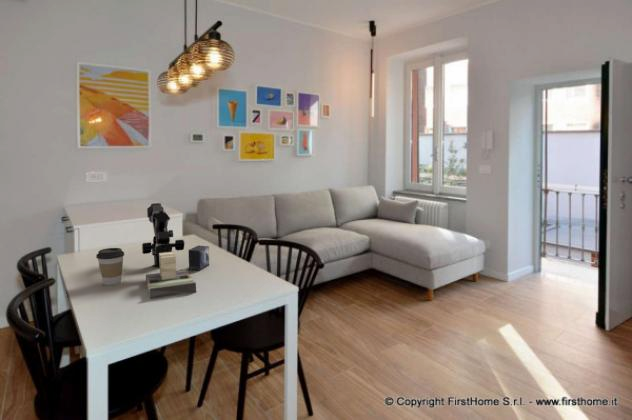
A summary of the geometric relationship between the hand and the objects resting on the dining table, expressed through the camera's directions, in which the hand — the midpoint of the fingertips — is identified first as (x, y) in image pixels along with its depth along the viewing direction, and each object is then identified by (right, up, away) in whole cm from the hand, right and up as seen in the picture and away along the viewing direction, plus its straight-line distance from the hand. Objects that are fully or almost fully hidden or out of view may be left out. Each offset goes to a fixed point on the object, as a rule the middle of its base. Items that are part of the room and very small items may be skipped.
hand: (165, 261), depth 188 cm
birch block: (+4, -6, -7) cm, 10 cm away
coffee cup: (-22, -9, -6) cm, 24 cm away
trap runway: (+6, -9, -11) cm, 16 cm away
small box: (+11, -6, +17) cm, 21 cm away
